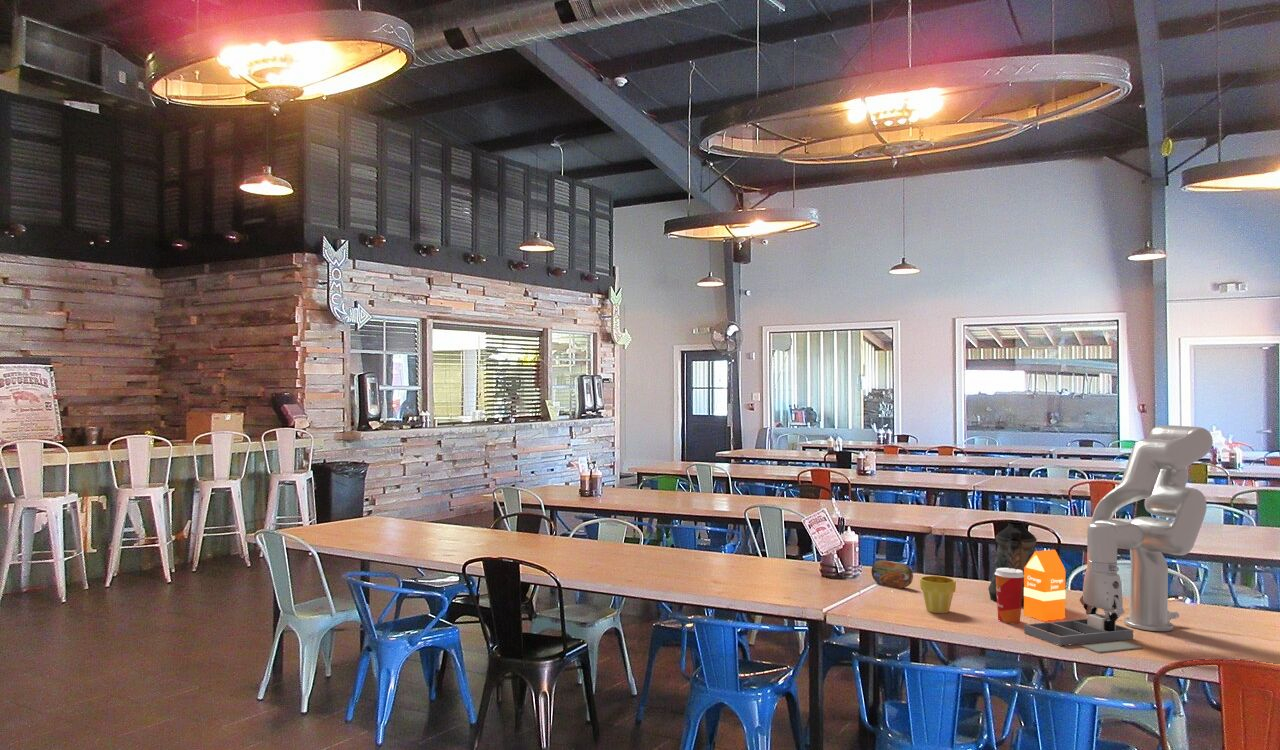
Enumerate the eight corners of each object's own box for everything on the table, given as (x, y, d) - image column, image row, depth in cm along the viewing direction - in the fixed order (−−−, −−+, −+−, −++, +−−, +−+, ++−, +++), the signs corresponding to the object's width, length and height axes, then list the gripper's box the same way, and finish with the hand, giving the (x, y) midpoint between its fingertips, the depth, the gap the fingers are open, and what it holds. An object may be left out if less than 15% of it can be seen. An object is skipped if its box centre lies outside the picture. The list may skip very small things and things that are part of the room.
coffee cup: (999, 615, 274) (999, 566, 274) (1027, 620, 269) (1028, 570, 269) (989, 621, 268) (990, 570, 268) (1018, 626, 262) (1019, 574, 262)
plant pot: (925, 614, 274) (926, 582, 274) (915, 606, 284) (916, 575, 284) (960, 615, 274) (960, 582, 274) (948, 607, 284) (949, 575, 284)
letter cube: (1101, 631, 259) (1101, 613, 259) (1115, 635, 254) (1115, 617, 254) (1087, 632, 257) (1087, 614, 257) (1101, 637, 252) (1101, 618, 252)
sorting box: (1094, 626, 263) (1095, 618, 263) (1133, 639, 251) (1133, 630, 251) (1024, 633, 255) (1024, 624, 255) (1060, 646, 243) (1060, 637, 243)
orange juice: (1023, 615, 275) (1024, 549, 276) (1044, 612, 279) (1044, 547, 279) (1044, 621, 268) (1045, 553, 268) (1065, 618, 272) (1066, 551, 272)
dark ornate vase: (1029, 594, 303) (1030, 519, 303) (1057, 609, 283) (1058, 529, 283) (980, 594, 302) (981, 519, 302) (1005, 609, 283) (1006, 528, 283)
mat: (1123, 642, 248) (1123, 640, 248) (1142, 648, 242) (1142, 646, 242) (1080, 646, 243) (1080, 645, 243) (1098, 653, 237) (1098, 651, 237)
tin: (870, 582, 318) (871, 558, 318) (875, 581, 320) (876, 557, 320) (909, 590, 307) (909, 565, 307) (914, 589, 309) (914, 564, 309)
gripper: (1137, 572, 249) (1136, 639, 249) (1088, 560, 265) (1087, 623, 265) (1116, 574, 246) (1115, 641, 246) (1068, 562, 263) (1067, 625, 262)
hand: (1101, 631), depth 256 cm, fingers closed on letter cube, 5 cm apart
